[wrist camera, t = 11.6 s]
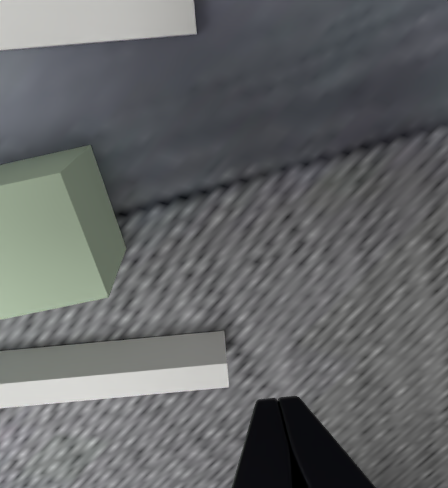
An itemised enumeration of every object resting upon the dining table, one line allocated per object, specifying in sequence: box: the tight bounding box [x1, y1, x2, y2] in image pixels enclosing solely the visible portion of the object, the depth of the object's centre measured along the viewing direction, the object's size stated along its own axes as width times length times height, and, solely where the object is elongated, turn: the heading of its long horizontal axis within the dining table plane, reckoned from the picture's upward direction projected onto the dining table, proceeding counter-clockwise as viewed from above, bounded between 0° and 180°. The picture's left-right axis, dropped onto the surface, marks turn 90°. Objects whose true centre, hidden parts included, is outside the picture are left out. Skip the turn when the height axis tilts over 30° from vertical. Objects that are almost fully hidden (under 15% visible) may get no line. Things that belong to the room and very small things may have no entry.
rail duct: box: [0, 0, 229, 408], centre depth 20 cm, size 21×32×6 cm, turn 4°
